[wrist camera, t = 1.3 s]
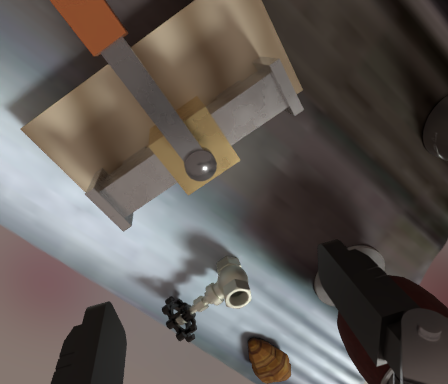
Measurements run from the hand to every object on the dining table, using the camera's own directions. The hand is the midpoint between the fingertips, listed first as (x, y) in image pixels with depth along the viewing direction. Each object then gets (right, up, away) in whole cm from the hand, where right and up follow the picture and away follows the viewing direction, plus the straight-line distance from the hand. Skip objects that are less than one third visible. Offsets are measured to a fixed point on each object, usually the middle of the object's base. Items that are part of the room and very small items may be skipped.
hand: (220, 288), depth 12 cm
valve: (-2, -9, +34) cm, 35 cm away
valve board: (-6, +13, +22) cm, 26 cm away
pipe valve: (-4, +10, +21) cm, 24 cm away
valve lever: (-6, +11, +11) cm, 17 cm away
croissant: (+8, -26, +44) cm, 52 cm away
